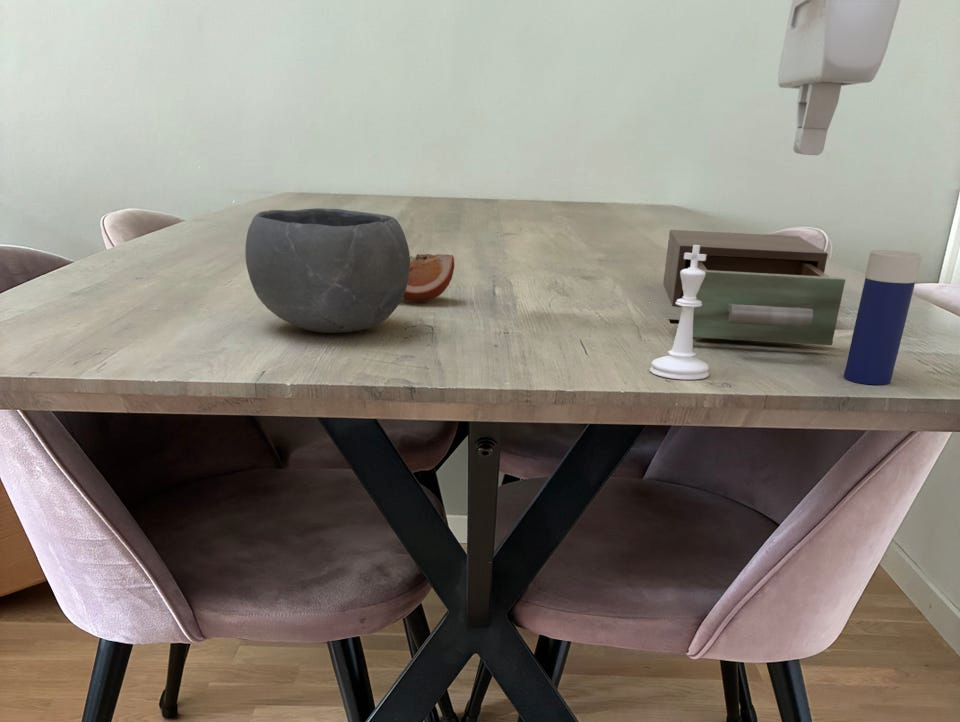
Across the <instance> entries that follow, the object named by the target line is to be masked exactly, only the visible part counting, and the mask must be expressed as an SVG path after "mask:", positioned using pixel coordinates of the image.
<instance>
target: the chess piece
mask: <svg viewBox="0 0 960 722" xmlns="http://www.w3.org/2000/svg"><path fill="white" fill-rule="evenodd" d="M699 251H700V245H693V250H692V253H684V259H690V260H691V265H690V267H688V269H683V270H681V272H680V276H681V281H682V297H681V299H677V302H676V303H675V304H676V305H679V306H680V307H681V312H680V318H679V320H680V321H679V324H677V329H676V333H675V337H674V341H673V344H672V347H671V349H670V350H668V351H667V353H668V354H669V355H664V356H660V357H658V358H655V359H653V360H652V361H651V367H650V368H649V372H650V373H651V374H653V375H655V376H658V377H660V378H667V379H671V380H679V381H680V380H682V381H690V380H691V381H695V380H702V379H706V378H708V377H709V376H710V372H709V370H710V366H709V364H708V363H707V362H705V361H703V360H701V359H699V358H696V357H694V356H697V353H696V352H695V351H694V347H693V346H694V345H693V344H694V343H693V342H694V341H693V340H694V339H693V338H694V337H693V315H694V307H700V306H702V304H701V303H702V302H701V301H700V300H696V298H697V297H696V295H697V293H698V291H699V289H700V286H701V284H702V281H703V280H704V278H705V275H706V273H705V271H703V270H700V269H699V268H697V265H698V260H699V261H706V255H705V254H699ZM683 295H684V296H683Z"/></svg>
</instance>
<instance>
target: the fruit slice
mask: <svg viewBox="0 0 960 722" xmlns="http://www.w3.org/2000/svg"><path fill="white" fill-rule="evenodd" d="M454 270H455V257H454V255H453V254H443V253H442V254H440V253H439V254H438V253H437V254H435V255H434V254H430V253H425V254H419V253H417V254H416V255H415V256H412V255H410V272H409V278H408V284H407V288H406V291H405V294H404V296H403V298H402V299H405V300H407V301H410V302H413V303H425V302H429V301H431V300H434V299H436V298H438V297H439V296H440V295H442V294H443V293H444V292H445V291H446V290H447V288H448V286H449V285H450V284H451V281H452V279H453V275H454Z"/></svg>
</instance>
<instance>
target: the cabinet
mask: <svg viewBox="0 0 960 722" xmlns="http://www.w3.org/2000/svg"><path fill="white" fill-rule="evenodd" d="M693 245H700V251H699V254H705V255H707V256H725V257H744V258H763V259H781V260H800V261H808V262H809V263H810V264H812V265H813V266H815V267H816V268H818V269H819V270H821V271H822V272H824V273H825V270H826V266H827V265H826V264H827V261H828V255H829V253H828V252H826V251H825V250H823V249H821V248H820V247H818V246H816V245H814V244H813V243H811V242H809V241H808V240H805V239H804V238H802V237H801V236H799V235H783V234H782V235H781V234H780V235H779V234H762V233H761V234H759V233H744V232H743V233H740V232H723V231H721V232H720V231H703V230H684V229H670V230H669V233H668V242H667V251H666V258H665V267H664V273H663V282H662V283H663V284H662V285H663V286H664V287H663V288H664V289H665V292H666V294H667V297H668V299H669V302H670V305H671V307H677V308H680V307H681V306H679V305H676V304H675V303H676V302H677V299H682V296H683V289H682V281H681V276H680V272H681V270H683V269H687V265H688V259H684V253H692V250H693ZM679 321H680V319H675V318H674V319H673V318H668V322H669V324H671V325H679Z"/></svg>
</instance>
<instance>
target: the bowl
mask: <svg viewBox="0 0 960 722" xmlns="http://www.w3.org/2000/svg"><path fill="white" fill-rule="evenodd" d="M244 249H245V251H244V252H245V264H246V270H247V273H248V278H249V280H250V284H251V285H252V289H253V291H254V292H255V294H256V297H257V298H258V299H259V301H260V302H261V303H262V304H263V305H264V307H266V309H267V310H268V311H270V312H272V314H274V315H275V316H277V317H278V318H279V319H281V320H282V321H285V322H287V323H289V324H290V325H293V326H295V327H297V328H300V329H303V330H305V331H306V330H307V331H311V332H316V333H324V334H341V333H342V334H343V333H353V332H359V331H363V330H367V329H369V328H372V327H373V328H374V327H376V326H377V325H380V324H382V323H383V322H385V321H386V320H387V319H388V318H389V317H390V316H391V315H392V314H393V312H394V311H395V310H396V309H397V307H398V306H399V305H400V303H402V301H403V299H404V298H403V296H404V294H405V291H406V288H407V284H408V278H409V272H410V257H411V255H410V249H409V244H408V241H407V237H406V235H405V232H404V229H403V228H402V226H401V224H400V222H399V221H398V219H396V218H395V217H394V216H390V215H386V214H380V213H372V212H364V211H356V210H348V209H342V208H341V209H340V208H322V207H321V208H317V207H316V208H302V209H294V210H290V209H289V210H288V209H287V210H286V209H270V210H264V211H260V212H257V214H255V215H254V216H253V218H252V220H251V222H250V224H249V226H248V229H247V234H246V240H245V248H244Z"/></svg>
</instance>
